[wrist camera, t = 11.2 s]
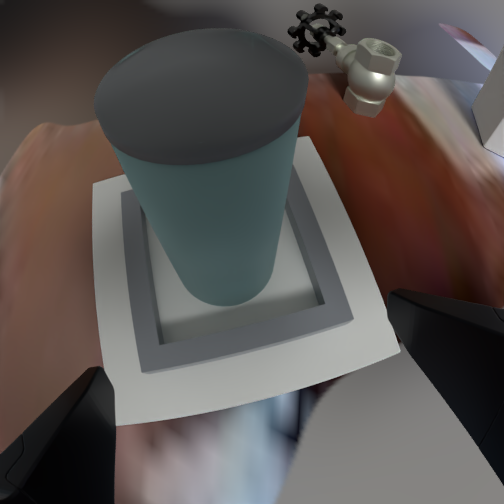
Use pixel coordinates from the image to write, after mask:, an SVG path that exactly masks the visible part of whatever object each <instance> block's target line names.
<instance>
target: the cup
mask: <svg viewBox="0 0 504 504" xmlns="http://www.w3.org/2000/svg"><path fill="white" fill-rule="evenodd" d="M307 86H308V72H307V69H306V67H305V64H304V63H303V61H302V60H301V58H300V57H299V56H298V55H297V54H296V53H295V52H294V51H293V50H292V49H290V48H289V47H288V46H286V45H284V44H283V43H281V42H279V41H277V40H275V39H273V38H270V37H267V36H265V35H262V34H258V33H254V32H250V31H244V30H237V29H221V28H220V29H219V28H216V29H200V30H192V31H187V32H181V33H177V34H173V35H170V36H166V37H164V38H161V39H158V40H155V41H153V42H150V43H148V44H146V45H144V46H142V47H140V48H138V49H136V50H134V51H133V52H132V53H130V54H128V55H127V56H125V57H124V58H123V59H121V60H120V61H119V62H118V63H117V64H115V65H114V66H113V67H112V68H111V69H110V70H109V71H108V73H107V74H106V75H105V76H104V78H103V79H102V81H101V82H100V84H99V86H98V88H97V91H96V94H95V98H94V109H95V113H96V116H97V118H98V120H99V123H100V125H101V127H102V129H103V132H104V134H105V136H106V138H107V139H108V140H109V141H110V143H111V145H112V147H113V149H114V151H115V153H116V156H117V158H118V160H119V162H120V164H121V166H122V168H123V170H124V172H125V175H126V177H127V179H128V181H129V183H130V185H131V187H132V189H133V191H134V193H135V195H136V197H137V199H138V201H139V203H140V205H141V207H142V209H143V211H144V213H145V215H146V217H147V219H148V221H149V222H150V224H151V226H152V228H153V230H154V232H155V234H156V236H157V238H158V240H159V241H160V243H161V245H162V247H163V249H164V251H165V253H166V254H167V256H168V258H169V260H170V262H171V264H172V265H173V267H174V269H175V271H176V272H177V274H178V276H179V278H180V280H181V281H182V283H183V285H184V286H185V288H186V289H187V290H188V291H189V292H190V293H191V294H192V295H193V296H194V297H196V298H197V299H198V300H200V301H202V302H204V303H207V304H210V305H214V306H222V307H226V306H235V305H239V304H242V303H245V302H247V301H249V300H251V299H252V298H254V297H255V296H257V295H258V294H259V293H260V292H261V291H262V290H263V289H264V288H265V286H266V285H267V283H268V282H269V280H270V278H271V275H272V272H273V268H274V263H275V258H276V252H277V247H278V242H279V236H280V231H281V226H282V220H283V215H284V209H285V204H286V198H287V193H288V187H289V181H290V176H291V170H292V164H293V158H294V153H295V147H296V141H297V135H298V129H299V123H300V117H301V113H302V110H303V108H304V105H305V99H306V93H307Z"/></svg>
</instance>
